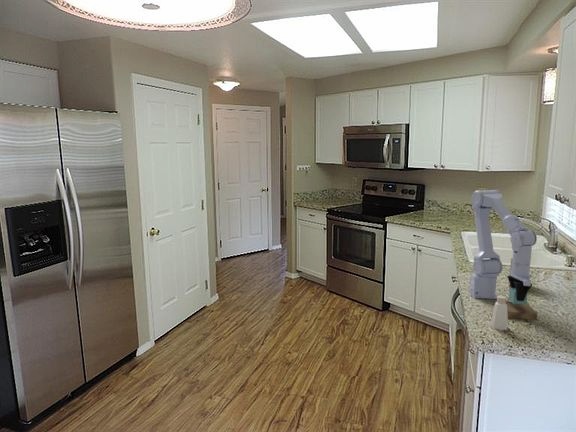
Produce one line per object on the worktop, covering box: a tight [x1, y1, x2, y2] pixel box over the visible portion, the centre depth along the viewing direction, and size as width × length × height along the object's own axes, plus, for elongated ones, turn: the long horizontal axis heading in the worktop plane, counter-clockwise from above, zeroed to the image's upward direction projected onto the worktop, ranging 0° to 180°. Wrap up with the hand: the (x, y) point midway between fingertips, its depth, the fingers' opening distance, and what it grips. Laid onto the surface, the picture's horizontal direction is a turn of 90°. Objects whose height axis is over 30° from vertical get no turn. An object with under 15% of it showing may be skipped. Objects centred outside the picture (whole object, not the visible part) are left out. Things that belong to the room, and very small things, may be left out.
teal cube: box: [508, 287, 529, 304], centre depth 149 cm, size 4×4×4 cm
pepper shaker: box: [490, 295, 509, 331], centre depth 138 cm, size 5×5×11 cm
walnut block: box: [505, 300, 538, 321], centre depth 150 cm, size 10×10×2 cm
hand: (517, 298), depth 149 cm, fingers closed on teal cube, 4 cm apart
